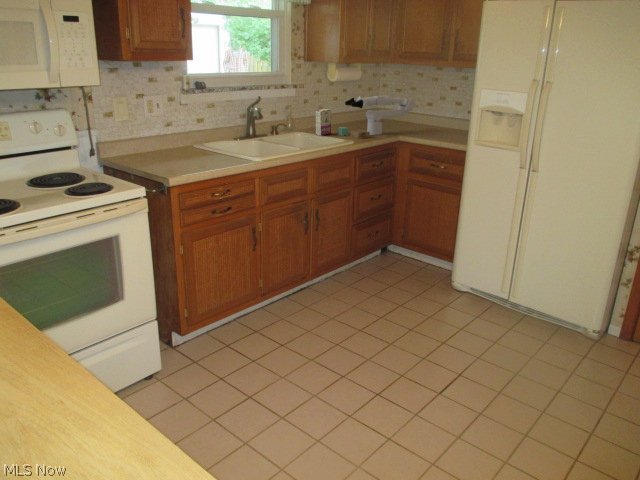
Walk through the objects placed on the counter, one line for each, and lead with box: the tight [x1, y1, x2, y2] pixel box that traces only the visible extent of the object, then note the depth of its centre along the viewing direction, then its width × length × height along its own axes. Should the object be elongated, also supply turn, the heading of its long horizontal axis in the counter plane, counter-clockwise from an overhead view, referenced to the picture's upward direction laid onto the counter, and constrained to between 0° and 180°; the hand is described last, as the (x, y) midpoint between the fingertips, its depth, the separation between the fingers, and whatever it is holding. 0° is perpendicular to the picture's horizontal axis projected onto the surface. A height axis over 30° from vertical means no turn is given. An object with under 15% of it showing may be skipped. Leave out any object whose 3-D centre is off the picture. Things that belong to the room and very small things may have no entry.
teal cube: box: [337, 126, 349, 137], centre depth 356 cm, size 5×5×5 cm
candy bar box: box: [315, 108, 332, 136], centre depth 353 cm, size 11×5×16 cm, turn 143°
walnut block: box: [349, 129, 371, 140], centre depth 348 cm, size 9×9×4 cm
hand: (348, 104), depth 344 cm, fingers open, 7 cm apart
